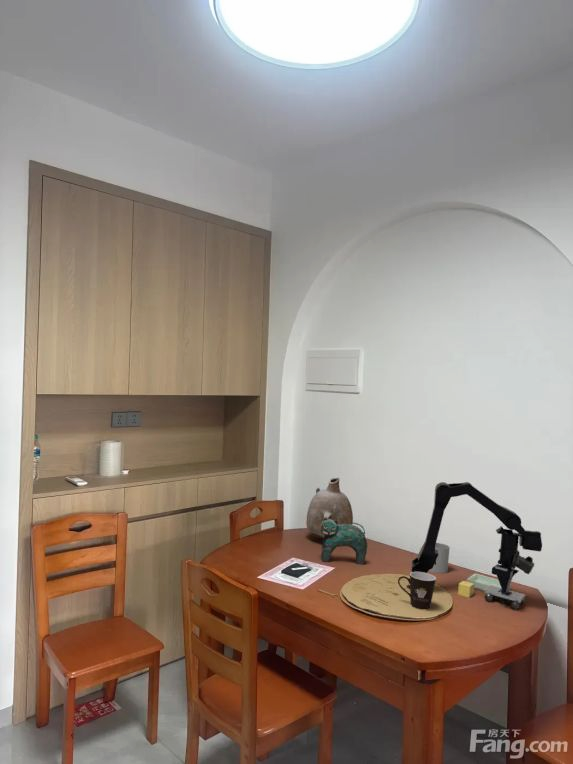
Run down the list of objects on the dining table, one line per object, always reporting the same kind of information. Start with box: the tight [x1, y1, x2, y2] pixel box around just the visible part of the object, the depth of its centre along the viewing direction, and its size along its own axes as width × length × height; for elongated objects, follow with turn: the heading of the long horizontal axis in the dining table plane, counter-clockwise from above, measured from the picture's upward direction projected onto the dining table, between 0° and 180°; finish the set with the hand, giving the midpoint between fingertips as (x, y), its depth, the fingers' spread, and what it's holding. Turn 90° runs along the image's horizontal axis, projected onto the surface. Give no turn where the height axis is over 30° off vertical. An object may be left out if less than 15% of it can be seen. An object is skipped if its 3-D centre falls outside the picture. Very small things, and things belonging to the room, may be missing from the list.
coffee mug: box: [397, 571, 437, 610], centre depth 186 cm, size 12×9×10 cm
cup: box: [428, 542, 450, 574], centre depth 227 cm, size 8×8×10 cm
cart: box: [484, 585, 526, 611], centre depth 196 cm, size 12×9×4 cm
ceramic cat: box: [320, 513, 368, 565], centre depth 226 cm, size 20×6×20 cm, turn 92°
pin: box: [499, 578, 512, 605], centre depth 196 cm, size 4×4×10 cm
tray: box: [465, 573, 512, 593], centre depth 210 cm, size 11×14×2 cm
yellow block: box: [457, 580, 475, 598], centre depth 200 cm, size 5×4×4 cm
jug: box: [305, 477, 354, 540], centre depth 256 cm, size 24×21×30 cm
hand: (505, 590), depth 196 cm, fingers closed on pin, 3 cm apart
